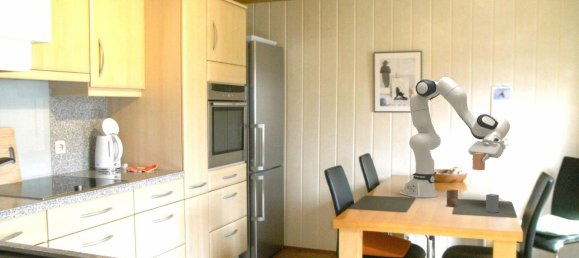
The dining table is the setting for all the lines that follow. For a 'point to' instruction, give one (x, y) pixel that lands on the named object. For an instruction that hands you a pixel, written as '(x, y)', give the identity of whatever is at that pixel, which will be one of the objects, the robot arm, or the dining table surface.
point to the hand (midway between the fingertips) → (477, 160)
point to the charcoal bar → (492, 203)
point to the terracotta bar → (478, 161)
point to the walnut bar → (452, 198)
